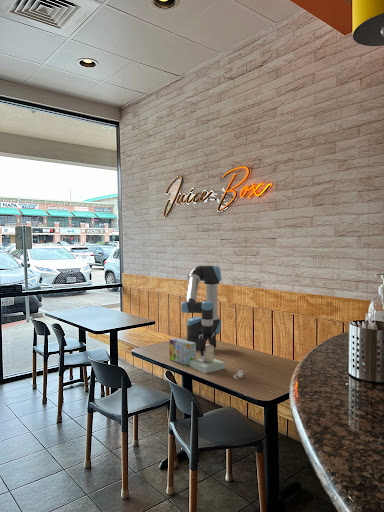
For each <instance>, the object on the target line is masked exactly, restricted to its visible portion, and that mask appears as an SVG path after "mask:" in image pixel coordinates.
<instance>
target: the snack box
mask: <svg viewBox="0 0 384 512" xmlns="http://www.w3.org/2000/svg"><path fill="white" fill-rule="evenodd" d="M169 360H170V361H172V362H176V363H180V364H182V365H186V366H190V367H191V361H192V360H197V350H196V343H194V342H190V341H186V340H185V339H181V338H177V337H172V338H169Z"/></svg>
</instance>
